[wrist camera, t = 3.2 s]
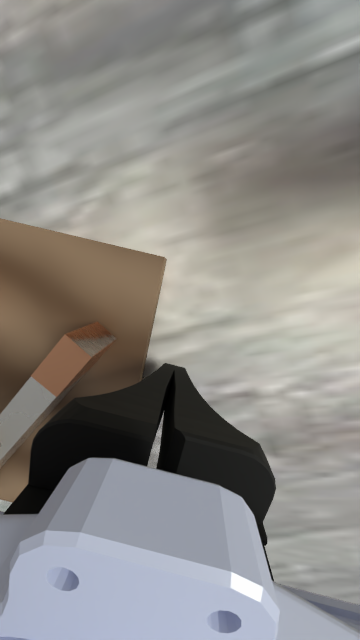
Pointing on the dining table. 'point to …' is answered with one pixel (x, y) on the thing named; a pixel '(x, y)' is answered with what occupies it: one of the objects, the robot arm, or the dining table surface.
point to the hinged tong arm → (51, 384)
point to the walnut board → (69, 316)
